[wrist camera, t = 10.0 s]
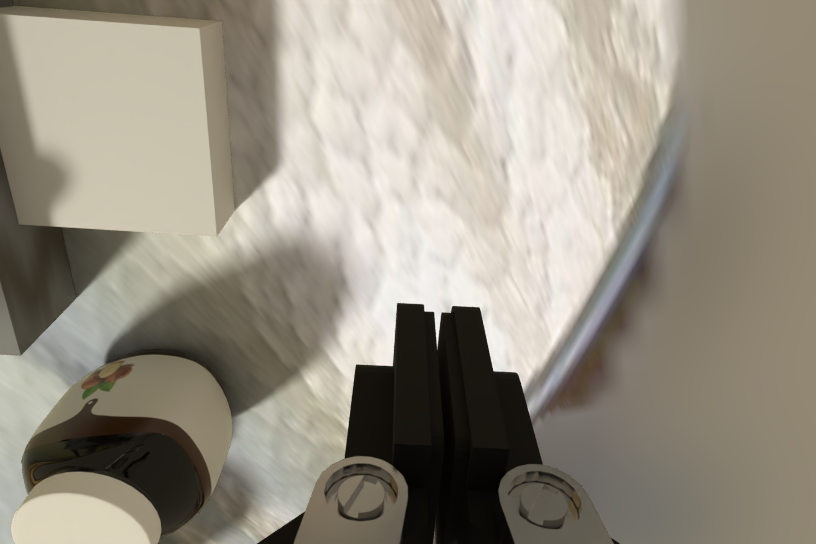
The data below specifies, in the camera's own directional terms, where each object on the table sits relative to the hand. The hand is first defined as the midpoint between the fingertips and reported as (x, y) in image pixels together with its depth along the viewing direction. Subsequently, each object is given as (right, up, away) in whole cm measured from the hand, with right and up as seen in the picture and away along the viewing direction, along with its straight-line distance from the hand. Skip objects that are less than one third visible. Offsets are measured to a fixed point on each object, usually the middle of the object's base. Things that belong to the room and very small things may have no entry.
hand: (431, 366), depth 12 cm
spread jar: (-17, -8, +29) cm, 35 cm away
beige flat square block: (-15, +10, +20) cm, 27 cm away
